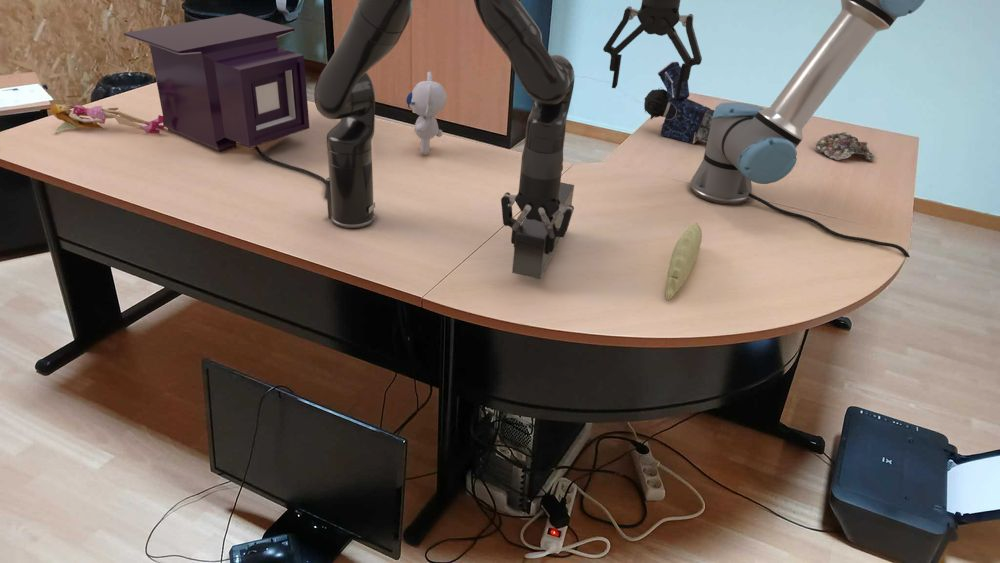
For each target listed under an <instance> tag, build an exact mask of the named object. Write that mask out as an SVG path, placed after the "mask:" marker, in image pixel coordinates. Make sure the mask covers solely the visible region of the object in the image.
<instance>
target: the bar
mask: <svg viewBox="0 0 1000 563" xmlns="http://www.w3.org/2000/svg"><path fill="white" fill-rule="evenodd" d="M574 191H575V184H573V183H566V182H560V189H559V201H560V204H562V205H565V206H569V205H572V206H573V198H574ZM553 215H554V218H555V224H556V227H557V228H560V226H561V223H562V220H563V217H561V215H560V211H559V210H557V211H556V212H555V213H554V214H553ZM547 238H548V233H547V230H546V229H545V227H544V224H543V222H539V221H537V220H530V219H527V218H525V219H524V221H523V222H522V224H521V225H520V227H519V229H518V231H517V232H516V238H515V247H513V258H512V270H511V272H512V274H516V275H520V276H525V277H530V278H534V279H538V280H541V278H542V277H543V274H544V273H545V271H546V268H547V267H548V264H549V262H550V260H551V259H552V256H553V255H554V252H555V250H556V248H557V246H558V245H559V243H560V242H561V239H562V238H560V237H556V241H555V247H554V249H553V251H552V252H550V253H549V255H548V254H545V252H546V244H547Z"/></svg>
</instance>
